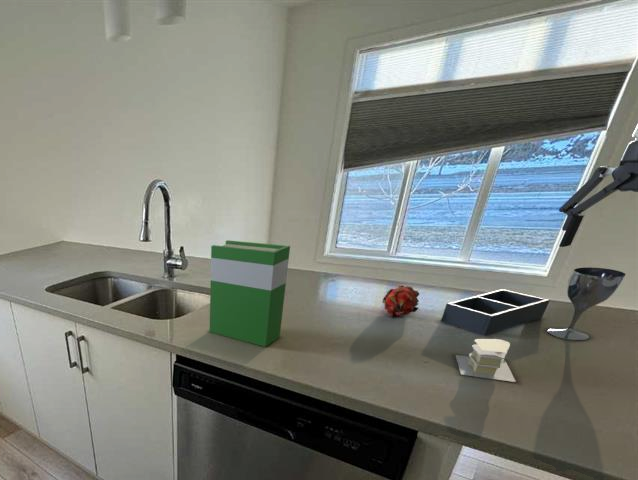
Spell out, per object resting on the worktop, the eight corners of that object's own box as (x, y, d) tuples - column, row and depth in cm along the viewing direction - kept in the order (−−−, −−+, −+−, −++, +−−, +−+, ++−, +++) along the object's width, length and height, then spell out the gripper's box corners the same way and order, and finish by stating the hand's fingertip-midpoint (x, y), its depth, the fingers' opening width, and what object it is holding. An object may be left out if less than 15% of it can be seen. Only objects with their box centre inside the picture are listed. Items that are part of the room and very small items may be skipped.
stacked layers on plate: (515, 382, 82) (527, 358, 79) (460, 374, 86) (469, 351, 83) (505, 361, 89) (515, 338, 86) (455, 355, 93) (463, 333, 90)
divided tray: (541, 318, 106) (550, 299, 103) (484, 335, 100) (492, 316, 98) (495, 306, 115) (502, 288, 112) (440, 321, 109) (446, 303, 107)
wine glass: (582, 329, 99) (614, 267, 91) (598, 342, 93) (633, 277, 85) (540, 326, 102) (567, 266, 94) (552, 338, 96) (583, 276, 88)
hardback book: (209, 331, 116) (211, 245, 104) (224, 323, 120) (227, 240, 108) (265, 346, 105) (274, 252, 93) (279, 337, 109) (290, 246, 97)
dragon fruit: (401, 311, 121) (395, 331, 114) (378, 293, 122) (371, 312, 115) (428, 292, 114) (423, 312, 107) (403, 273, 115) (397, 291, 108)
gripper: (566, 142, 87) (525, 244, 98) (754, 135, 66) (676, 265, 77) (588, 140, 89) (546, 239, 100) (777, 132, 68) (698, 259, 79)
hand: (602, 251), depth 88 cm, fingers open, 13 cm apart
